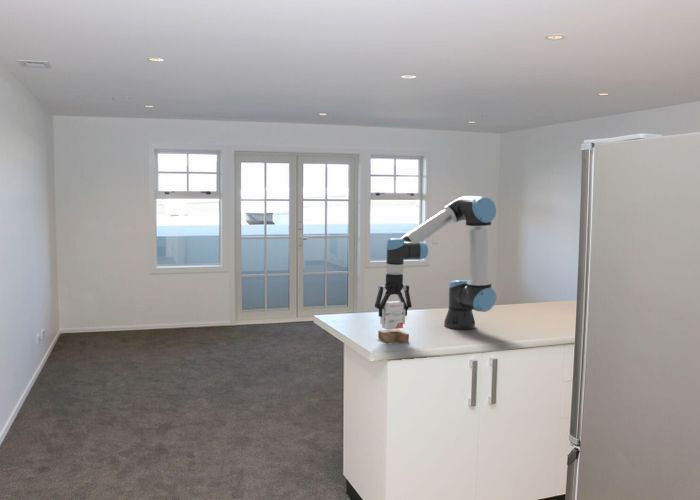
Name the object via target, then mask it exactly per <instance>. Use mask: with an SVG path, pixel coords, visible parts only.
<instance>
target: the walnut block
mask: <svg viewBox="0 0 700 500" xmlns="http://www.w3.org/2000/svg"><path fill="white" fill-rule="evenodd" d="M377 337H378V338H379V339H378V338H377V339H378V340H380V339H381V340H380V341H382V340H383V341H382V342H383V343H386V344H388V343H392V344H402V343H403V344H404V342H406V343H409V339H410V338H409V337H410V333H407V332H405V331H403V330H401V329H400V328H398V329H390V330H387V329H381V330H378V336H377Z"/></svg>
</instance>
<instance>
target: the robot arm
mask: <svg viewBox="0 0 700 500" xmlns="http://www.w3.org/2000/svg"><path fill="white" fill-rule="evenodd" d="M496 214H497V207H496V204H495V202H494V201H493V200H492V199H491V198H490V197H487V196H484V195H463V196H460V197H458V198H455V199H454V200H452V201H451V202H449V203H448V204H445V205H444V206H443V207H442V209H441V211H439V212H438V213H436V214H435V215H433V216H432V217H430V218H428V219H427V220H426V221H424V222H423V223H421V224H419V225H418V226H416V227H415V228H413V229H412V230H410V231H408V232H407V233H405V234H404V235H403V236H401V237H391V238H388V239H387V242H386V265H385V266H386V267H385V272H386V274H385V284H384V285H378V291H377V292H378V293H377V296H376V299H375V304H374V307H375V308H376V309H378V317H379V319H380V321H379V323H380V325H381V326H382V325H384V309H383V307H384V306H385V304H386V302H388V300H389V298H390V297H391V296H392V295H397V298H399V301H401V302H403V303H404V312H403V325H405V324H406V317H407V316H408V310H409V309H410V308H411V309H412V300H411V295H410V286H409V285H408V284H406V285H404V283H403V282H404V275H403V273H404V262H405V261H404V260H425V259H426V258H427V257H428V254H429V247H428V245H427V244H426V243H425V241H427V240H429V239H430V238H431V237H433V236H434V235H436V234H438V233H439V232H441V231H442V230H443V229H445V228H447V227H448V226H450V225H455V224H457V223H458V222H460V221H465V226H466V227H467V228H468V229H469V232H468V235H469V236H468V239H469V245H468V246H469V249H468V250H469V258H468V259H469V279H464V280H461V279H460V280H459V279H458V280H451V281H450V283H449V288H448V310H447V313H446V315H445V319H444V320H443V321H444V323H443V326H444V327H445V328H448V329H455V330H472V329H475V328H476V322H475V316H474V313H473V310H474V311H476V312H480V313H481V312H483V313H486V312H488V311H490V310H492V309H493V307H494V306H495V304H496V301H497V293H496V291H495V290H494V289H493V288H492V281H491V280H490V279H489V228H490V227H491V226H492V221H493V220H494V219H495V217H496V216H497V215H496ZM384 290H386V291H385V293H384ZM402 290H403V291H404V295H405V296H403V293H402ZM382 297H383V298H382ZM404 297H405V298H404Z"/></svg>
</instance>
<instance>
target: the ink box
mask: <svg viewBox="0 0 700 500" xmlns="http://www.w3.org/2000/svg"><path fill="white" fill-rule="evenodd" d="M383 309H384V325H382V324H381V328H382V329H383V330H396V329H403V328H404V324H403V312H404V303H403V302H401V301H400V300H394V301H393V300H392V301H387V302H386V304H385V306H384V307H383Z"/></svg>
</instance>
